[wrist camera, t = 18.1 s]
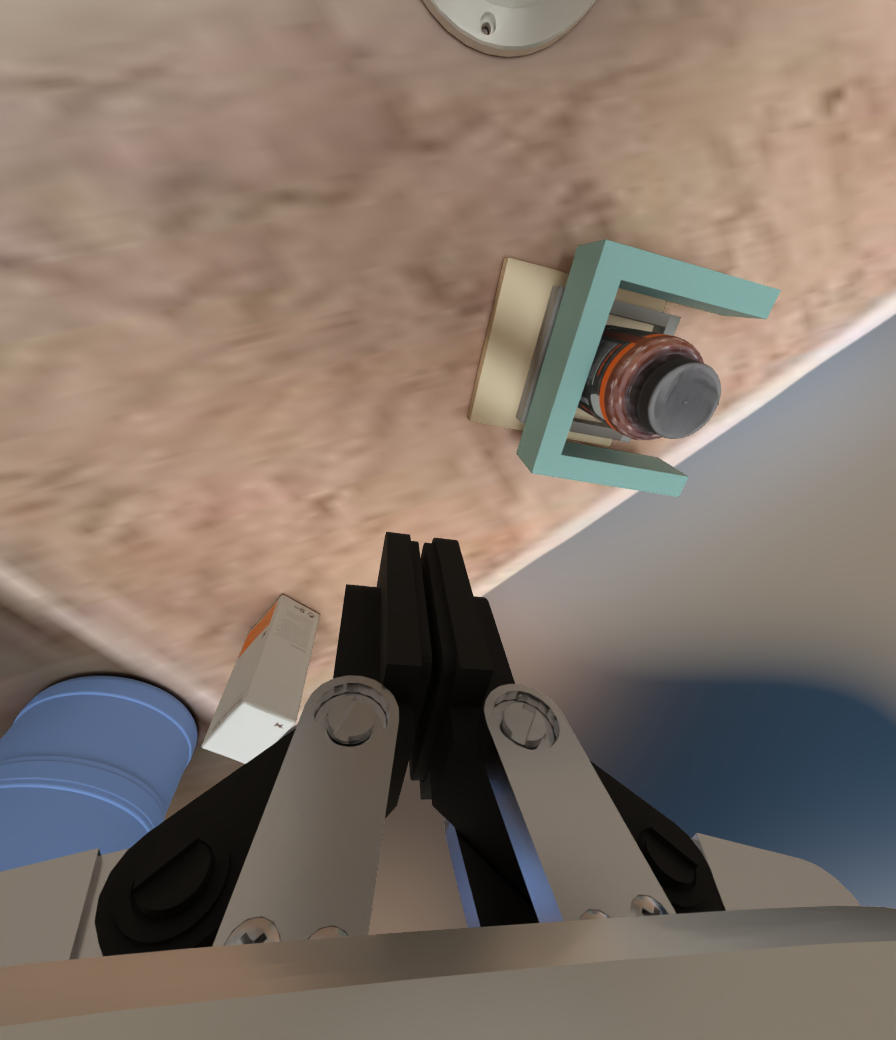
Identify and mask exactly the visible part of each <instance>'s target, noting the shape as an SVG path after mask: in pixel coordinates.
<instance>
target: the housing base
mask: <svg viewBox="0 0 896 1040" xmlns="http://www.w3.org/2000/svg"><path fill="white" fill-rule="evenodd" d="M568 277H569V273H565V272H562V271H558V270H554V269H550V268H547V267H543V266H539V265H535V264H532V263H528V262H524V261H520V260H517V259H513V258H509V257H508V258H504V261H503V265H502V270H501V274H500V278H499V283H498V287H497V291H496V296H495V300H494V304H493V309H492V313H491V317H490V322H489V326H488V330H487V334H486V339H485V343H484V347H483V352H482V356H481V360H480V365H479V369H478V373H477V378H476V382H475V386H474V390H473V395H472V399H471V403H470V408H469V412H468V416H467V418H468V419H469V421H471V422H476V423H482V424H487V425H493V426H498V427H504V428H509V429H515V430H520V431H523V429H524V426H525V423H526V419H527V416H528V412H529V409H530V406H531V402H532V399H533V395H534V392H535V389H536V385H537V382H538V378H539V375H540V372H541V368H542V365H543V361H544V358H545V355H546V351H547V348H548V344H549V341H550V338H551V334H552V331H553V327H554V324H555V321H556V317H557V314H558V310H559V307H560V304H561V300H562V297H563V293H564V290H565V287H566V283H567V280H568ZM666 303H667V301H666V300H662V299H658V298H655V297H651V296H647V295H643V294H640V293H636V292H632V291H628V290H625V289H621V288H618V290H617V293H616V296H615V299H614V302H613V305H612V308H611V311H610V313H609V316H608V319H607V322H606V325H614V326H620V327H626V328H631V329H638V330H644V331H649V332H655V333H661V334H666V335H671V336H673V335H674V333H675V331H676V328H677V326H678V323H679V321H680V318H681V317H678V316H674V315H670V314H666V313H663V311H664V308H665V305H666ZM567 439H570V440H576V441H581V442H587V443H592V444H598V445H603V446H609V447H610V445H611V443H612V440H618V441H624V442H630V440H631V438H629V437H626V436H624V435H622V434H620V433H619V432H617V431H615V430H613V429H612V428H610V427H609V426H607V425H605V424H604V423H602V422H601V421H599V420H598V419H596V418H595V417H593V416H591V415H589V414H587V413H586V412H584V411H583V410H581V409H580V408H578V407H577V410H576V413H575V415H574V418H573V421H572V424H571V427H570V430H569V433H568V436H567Z"/></svg>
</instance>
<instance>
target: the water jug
mask: <svg viewBox="0 0 896 1040" xmlns="http://www.w3.org/2000/svg"><path fill="white" fill-rule="evenodd" d="M196 743H197V727H196V724H195V721H194V719H193V717H192V715H191V714H190V712H189V711H188V709H187V708H186V707H185V706H184V705H183V704H182V703H181V702H180V701H179V700H177V699H176V698H175V697H173V696H172V695H170V694H169V693H167V692H165V691H164V690H162V689H160V688H158V687H155V686H153V685H150V684H148V683H145V682H141V681H138V680H134V679H129V678H124V677H117V676H86V677H79V678H74V679H69V680H66V681H63V682H60V683H57V684H55V685H53V686H50V687H49V688H47V689H45V690H43V691H42V692H40V693H39V694H38V695H36V696H35V697H34V698H33V699H32V700H31V701H30V702H29V703H28V704H27V705H26V706H25V707H24V708H23V710H22V711H21V712H20V713H19V715H18V716H17V718H16V719H15V721H14V723H13V725H12V726H11V728H10V729H9V730H8V731H7V732H6V733H5V735H4V736H3V737H2V738H1V739H0V872H2V871H6V870H10V869H14V868H18V867H22V866H26V865H30V864H35V863H39V862H43V861H47V860H51V859H55V858H59V857H63V856H68V855H72V854H76V853H80V852H84V851H88V850H92V849H97V848H99V850H100V853H101V855H104V854H108V853H112V852H116V851H120V850H124V849H128V848H130V847H132V846H133V845H134V844H135V843H136V842H137V841H139V840H140V839H141V838H142V837H143V836H144V835H145V834H147V833H148V832H149V831H151V830H152V829H154V828H155V827H156V826H158V825H159V824H161V823H162V822H164V817H165V815H166V812H167V810H168V808H169V805H170V803H171V800H172V798H173V796H174V793H175V791H176V788H177V786H178V784H179V781H180V779H181V777H182V774H183V772H184V770H185V768H186V767H187V765H188V764H189V762H190V760H191V757H192V755H193V752H194V749H195V747H196Z"/></svg>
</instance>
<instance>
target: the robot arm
mask: <svg viewBox="0 0 896 1040" xmlns="http://www.w3.org/2000/svg"><path fill="white" fill-rule="evenodd" d="M595 1H596V0H423V2H424V3H425V5H426V6H427V8H428V10H429V11H430V12H431V13H432V14H433V16H434V17H435V18H436V19H437V20H438V21H439V22H440V23H441V24H442V26H443V27H444V28H445V29H446V30H447V31H448V32H450V33H451V34H452V35H454V36H455V37H456V38H458V39H459V40H460V41H462V42H463V43H464V44H466V45H467V46H470V47H472V48H474V49H476V50H479V51H481V52H483V53H486V54H490V55H497V56H503V57H513V56H522V55H529V54H531V53H534V52H536V51H539V50H541V49H544V48H547V47H549V46H550V45H552V44H553V43H555V42H556V41H557V40H559V39H560V38H562V37H563V36H565V35H566V34H568V33H569V31H570V30H571V29H572V28H573V27H574V26H575V25H576V24H577V23H578V22H579V21H580V20H581V19H582V18H583V17H584V16H585V15H586V13H587V12H588V11H589V9H590V8H591V7H592V5H593V4H594V3H595ZM482 27H487V28H488V30H489V35H485V34H484V33H483V32H482V30H481V28H482ZM408 762H409V765H410V778H411V780H420V793H421V799H432V805H433V807H434V808H436V809H437V810H438V811H439V812H440V813H441V814H442V815H443V816H444V817H445V820H444V826H445V835H446V839H447V843H448V848H449V852H450V856H451V860H452V864H453V869H454V873H455V877H456V881H457V885H458V889H459V894H460V898H461V902H462V906H463V910H464V914H465V919H466V923H467V927H468V928H460V929H447V930H433V931H417V932H403V933H389V934H376V935H368V932H369V925H370V918H371V911H372V904H373V897H374V890H375V884H376V876H377V870H378V862H379V856H380V849H381V842H382V835H383V828H384V821H385V818H386V817H387V816H388V815H389V814H390V813H391V811H392V810H393V809H394V808H395V807H396V806H397V803H398V799H399V795H400V791H401V788H402V784H403V780H404V777H405V773H406V769H407V765H408ZM0 1040H896V909H893V908H887V907H868V906H867V907H866V906H865V907H864V906H860V904H859V903H858V902H857V900H856V899H855V898H854V896H853V895H852V894H851V893H850V892H849V891H848V890H847V889H846V888H845V887H844V886H843V885H842V884H841V883H840V882H839V881H838V880H837V879H836V878H834V877H833V876H831V875H830V874H829V873H827V872H826V871H825V870H823V869H822V868H820V867H819V866H817V865H814V864H812V863H810V862H807V861H805V860H803V859H799V858H795V857H791V856H786V855H783V854H779V853H775V852H771V851H767V850H763V849H759V848H755V847H751V846H747V845H743V844H739V843H735V842H731V841H727V840H723V839H719V838H715V837H711V836H707V835H703V834H699V833H697V834H696V835H695V836H694V837H693V838H690V837H689V836H688V835H687V834H686V833H685V832H684V831H683V830H682V829H680V828H679V827H678V826H677V825H676V824H675V823H673V822H672V821H671V820H670V819H668V818H667V817H665V816H664V815H663V814H661V813H660V812H658V811H657V810H656V809H655V808H653V807H652V806H651V805H649V804H648V803H646V802H645V801H644V800H642V799H641V798H640V797H638V796H637V795H636V794H634V793H633V792H632V791H630V790H629V789H628V788H626V787H625V786H623V785H622V784H621V783H619V782H618V781H617V780H615V779H614V778H612V777H611V776H610V775H609V774H607V773H606V772H604V771H603V770H602V769H600V768H599V767H598V766H596V765H595V764H593V763H592V762H591V761H590V760H589V759H588V757H587V756H586V754H585V752H584V750H583V748H582V747H581V745H580V743H579V741H578V740H577V738H576V736H575V734H574V733H573V731H572V729H571V728H570V725H569V724H568V722H567V720H566V718H565V717H564V715H563V714H562V712H561V711H560V709H559V708H558V707H557V705H556V704H555V703H554V702H553V701H552V700H550V699H549V698H548V697H547V696H546V695H544V694H543V693H541V692H539V691H537V690H536V689H534V688H531V687H528V686H524V685H521V684H515V682H514V679H513V676H512V673H511V670H510V667H509V664H508V660H507V658H506V655H505V651H504V648H503V645H502V642H501V639H500V636H499V633H498V629H497V626H496V624H495V620H494V617H493V614H492V611H491V608H490V605H489V602H488V600H487V599H486V598H484V597H474V596H473V593H472V590H471V586H470V582H469V579H468V575H467V572H466V568H465V565H464V561H463V557H462V554H461V550H460V547H459V543H458V541H457V540H450V539H441V538H434V539H433V541H432V543H424V545H423V549H422V554H421V559H420V551H419V543H418V542H416V541H411V538H410V535H408V534H400V533H392V532H386V535H385V540H384V546H383V552H382V558H381V564H380V570H379V576H378V582H377V587H369V586H358V585H347V584H346V589H345V597H344V604H343V611H342V618H341V626H340V633H339V640H338V647H337V655H336V662H335V669H334V676H333V679H332V680H330V681H328V682H326V683H324V684H322V685H321V686H320V687H318V688H317V689H316V690H315V691H314V692H313V693H312V694H311V696H310V697H309V699H308V701H307V702H306V704H305V706H304V709H303V712H302V714H301V717H300V719H299V722H298V725H297V727H296V729H294V730H293V731H291V732H290V733H289V734H287V735H286V736H284V737H283V738H282V739H280V740H279V741H277V742H276V743H274V744H273V745H272V746H270V747H269V748H267V749H266V750H264V751H263V752H262V753H260V754H259V755H257V756H256V757H255V758H253V759H252V760H250V761H249V762H247V763H246V764H245V765H243V766H242V767H240V768H239V769H237V770H236V771H235V772H233V773H232V774H230V775H229V776H228V777H226V778H225V779H223V780H222V781H220V782H219V783H218V784H216V785H215V786H213V787H212V788H210V789H209V790H208V791H206V792H205V793H203V794H202V795H201V796H199V797H198V798H196V799H195V800H193V801H192V802H191V803H189V804H188V805H186V806H185V807H183V808H182V809H181V810H179V811H178V812H176V813H175V814H174V815H172V816H171V817H169V818H168V819H166V820H165V821H164V822H162V823H161V824H159V825H158V826H156V827H155V828H154V829H152V830H151V831H149V832H148V833H147V834H145V835H144V836H143V837H142V838H141V839H140V840H139V841H137V842H136V843H135V844H134V845H133V846H132V847H130V848H128V849H124V850H120V851H116V852H112V853H108V854H104V855H101V853H100V850H99V848H97V849H92V850H88V851H84V852H80V853H76V854H72V855H68V856H63V857H59V858H55V859H51V860H47V861H43V862H39V863H35V864H30V865H26V866H22V867H18V868H14V869H10V870H6V871H2V872H0Z"/></svg>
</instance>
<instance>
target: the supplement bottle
mask: <svg viewBox="0 0 896 1040" xmlns="http://www.w3.org/2000/svg"><path fill="white" fill-rule="evenodd" d="M720 395H721V386H720V380H719V378H718V375H717V374H716V372H715V371H714V370H713V369H712V368H711V367H710V366H708V365H706V364H704V362H703V359H702V357H701V355H700V353H699V352H698V350H697V349H696V348H695V347H694V346H693V345H691V344H690V343H689V342H687V341H685V340H683V339H681V338H678V337H676V336H671V335H666V334H661V333H655V332H649V331H644V330H638V329H631V328H626V327H620V326H614V325H605V328H604V331H603V334H602V337H601V340H600V343H599V346H598V348H597V351H596V354H595V357H594V360H593V363H592V366H591V369H590V372H589V375H588V378H587V380H586V383H585V386H584V389H583V392H582V395H581V398H580V401H579V404H578V408H580V409H581V410H583V411H584V412H586V413H587V414H589V415H591V416H593V417H595V418H596V419H598V420H599V421H601V422H602V423H604V424H605V425H607V426H609V427H610V428H612V429H613V430H615V431H617V432H619V433H620V434H622V435H624V436H626V437H629V438H632V439H635V440H652V439H658V438H660V437H665V438H669V439H678V438H684V437H686V436H689V435H691V434H693V433H695V432H696V431H698V430H699V429H701V428H702V427H703V426H704V425H705V424H706V423H707V422H708V421H709V420H710V418H711V417H712V415H713V413H714V412H715V410H716V408H717V405H718V404H719V399H720Z"/></svg>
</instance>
